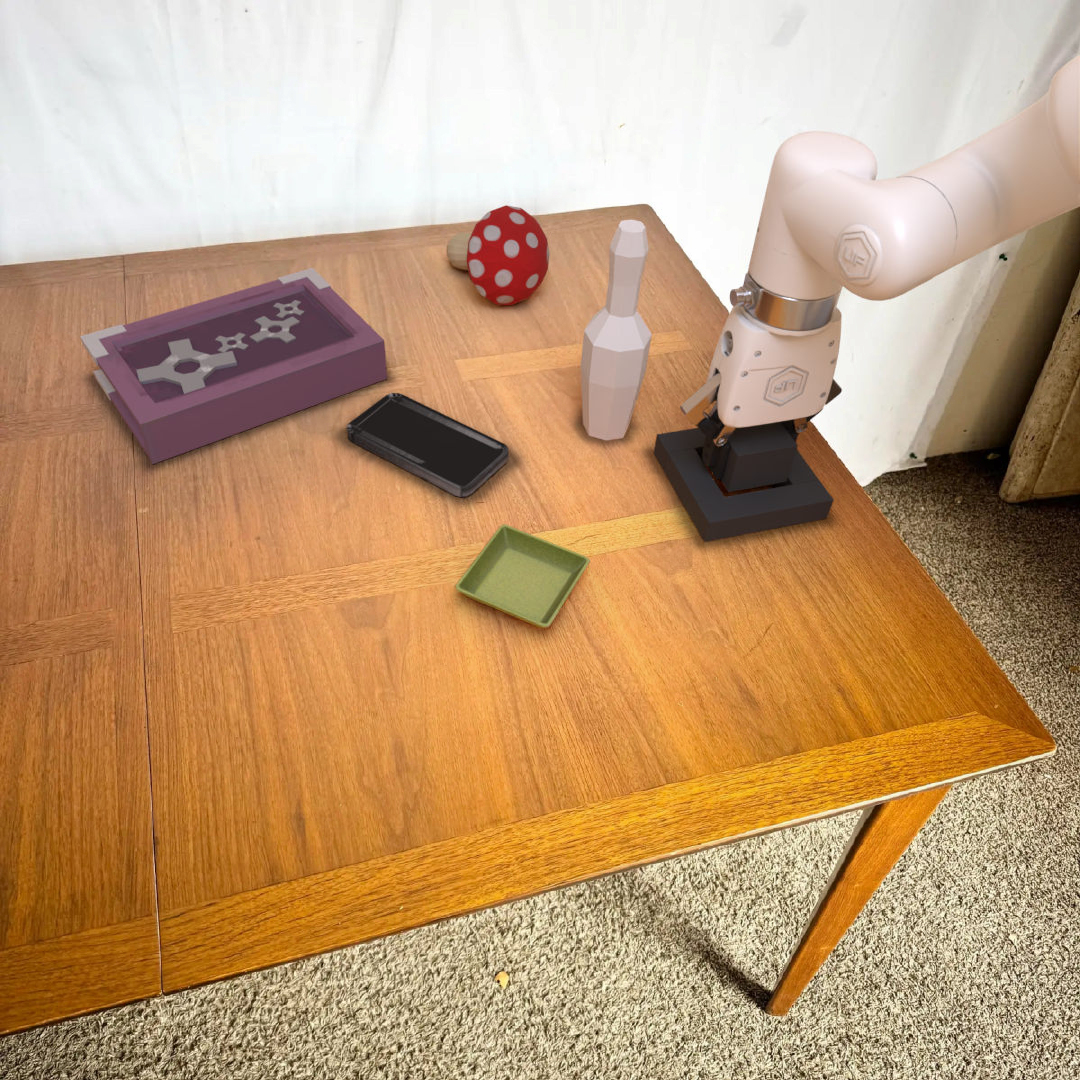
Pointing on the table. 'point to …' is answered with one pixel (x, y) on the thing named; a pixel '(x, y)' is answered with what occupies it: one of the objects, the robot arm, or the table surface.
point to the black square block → (758, 456)
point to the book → (234, 362)
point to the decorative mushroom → (503, 255)
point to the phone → (428, 444)
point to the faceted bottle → (616, 340)
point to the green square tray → (523, 576)
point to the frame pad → (739, 512)
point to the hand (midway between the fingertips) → (745, 461)
